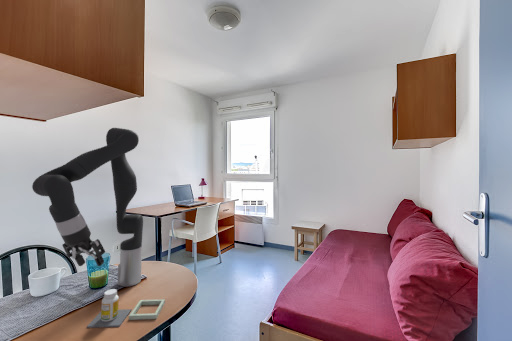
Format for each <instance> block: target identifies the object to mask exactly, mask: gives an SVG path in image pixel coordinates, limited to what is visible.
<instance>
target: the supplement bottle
mask: <svg viewBox="0 0 512 341" xmlns="http://www.w3.org/2000/svg"><path fill="white" fill-rule="evenodd" d="M103 295H104V296H103V298H102V300H101V308H100V309H101V310H100V312H101V320H102V321H104V322H108V321H111V320H113V319H115V318H116V317H117V316H118V310H119V301H120V300H119V298H120V297H119V295H118V289H117V288H116V289H115V288H112V289H111V288H110V289H107V290H106V291H104V293H103Z"/></svg>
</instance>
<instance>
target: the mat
mask: <svg viewBox="0 0 512 341" xmlns="http://www.w3.org/2000/svg"><path fill="white" fill-rule="evenodd" d="M131 312H132V308H129V309H127V308H126V309H118V316H117V317H116V318H115V319H113V320H111V321H108V322H104V321H102V320H101V311H100V312H99V313H97V315H96V316H95V317H94V318H93V319H92V320H91V321H90V322H89V324H87V326H86V328H87V329H88V328H89V329H90V328H91V329H92V328H115V327H117V328H120V327H121V325H122V324H123V322H125V320H126V318H128V317H129V315H130V313H131Z"/></svg>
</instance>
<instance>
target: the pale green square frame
mask: <svg viewBox="0 0 512 341" xmlns="http://www.w3.org/2000/svg"><path fill="white" fill-rule="evenodd" d="M165 304H166V299H165V298H164V299H163V298H162V299H140V300H139V301H138V302H137V304H136V305H135V306H134V308H133V309H132V310H131V312H130V313H129V314H128V320H129V321H131V320H132V321H134V320H135V321H136V320H157V319H158V317H159V315H160V313H161V311H162V310H163V308H164V306H165ZM151 305H158V307H157V308H156V311H155V312H153V313H148V312H147V313H137V312H138V311H139V310H140V308H141V307H142V306H151Z"/></svg>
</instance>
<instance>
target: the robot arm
mask: <svg viewBox="0 0 512 341" xmlns="http://www.w3.org/2000/svg"><path fill="white" fill-rule="evenodd" d="M105 141H106V142H105V143H106V145H105V146H102V147H99V148H96V149H92V150H89V151H85V152H84V153H81V154H79V155H78V156H76V157H75V158H73V159H71V160H70V161H67V163H65V164H63V165H61V166H58V167H56V168H54V169H51V170H49V171H47V172H45V173H42V174H40V175H39V176H38V177H36V178H35V179H34V180H33V183H32V185H31V188H32V191H33V192H34V193H35V194H36V195H38V196H41V197H48V198H49V201H50V203H51V204H50V205H49V208H48V210H49V214H50V215H51V216H50V217H52V219H53V221H54V223H55V226H56V229H57V231H58V232H59V235H60V236H61V239H62V240H63V242H64V243H62V247H63V250H64V251H65V254H66V256H67V257H68V258H72V259H74V260H75V262H76V263H77V266H78V267H82V266H83V265H85V264H86V260H85V259H84V257H83V256H84V255H83V254H86V255H87V256H91V257H92V258H93V259H94V261H95V263H96V265H97V267H101V266H103V265H104V263H105V260H104V257H103V255H104V254H105V253H106V251H105V248H104V247H103V245H102V242H101V241H100V239H98V238H97V239H96V240H93V239H91V234H92V233H91V230H90V228H89V226H88V224H87V221H86V220H85V217H84V216H83V215H82V213H81V211H80V209H79V207H78V205H77V203H76V200H75V194H74V193H75V192H74V187H73V185H72V182H73V183H74V182H76V181H81V180H82V179H84V178H85V177H88V175H90V174H91V173H93V172H94V171H96V170H97V169H98V168H100V167H102V166H104V165H105V164H106V163H109V162H110V166H111V172H112V183H113V191H114V196H115V197H114V198H115V210H116V211H115V212H116V216H115V219H116V229H117V232H118V234H121V235H131V234H132V235H133V236H132V237H131V238H127V239H125V240H123V241H121V242H120V246H119V247H120V249H119V250H120V251H119V252H120V253H119V264H118V265H117V286H121V287H133V286H136V285H137V284H138V285H139V283H140V282H142V281H141V280H142V255H143V254H142V253H143V252H142V251H143V250H142V249H143V248H142V245H143V244H142V243H143V228H144V217H143V215H142V214H127V208H128V205H129V204H130V202H131V201H132V200H133V198H134V196H135V195H136V193H137V190H138V184H137V176H136V174H135V171H134V170H133V168H132V166H131V165H130V164H129V162H128V159H127V157H126V153H127V154H128V153H129V152H131V151H134V149H136V148H137V146H138V144H139V135H138V134H137V133H136V132H135V131H134V130H131V129H128V128H127V129H126V128H122V127H121V128H120V127H112V128H109V129H108V131H107V132H106V137H105Z"/></svg>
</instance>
